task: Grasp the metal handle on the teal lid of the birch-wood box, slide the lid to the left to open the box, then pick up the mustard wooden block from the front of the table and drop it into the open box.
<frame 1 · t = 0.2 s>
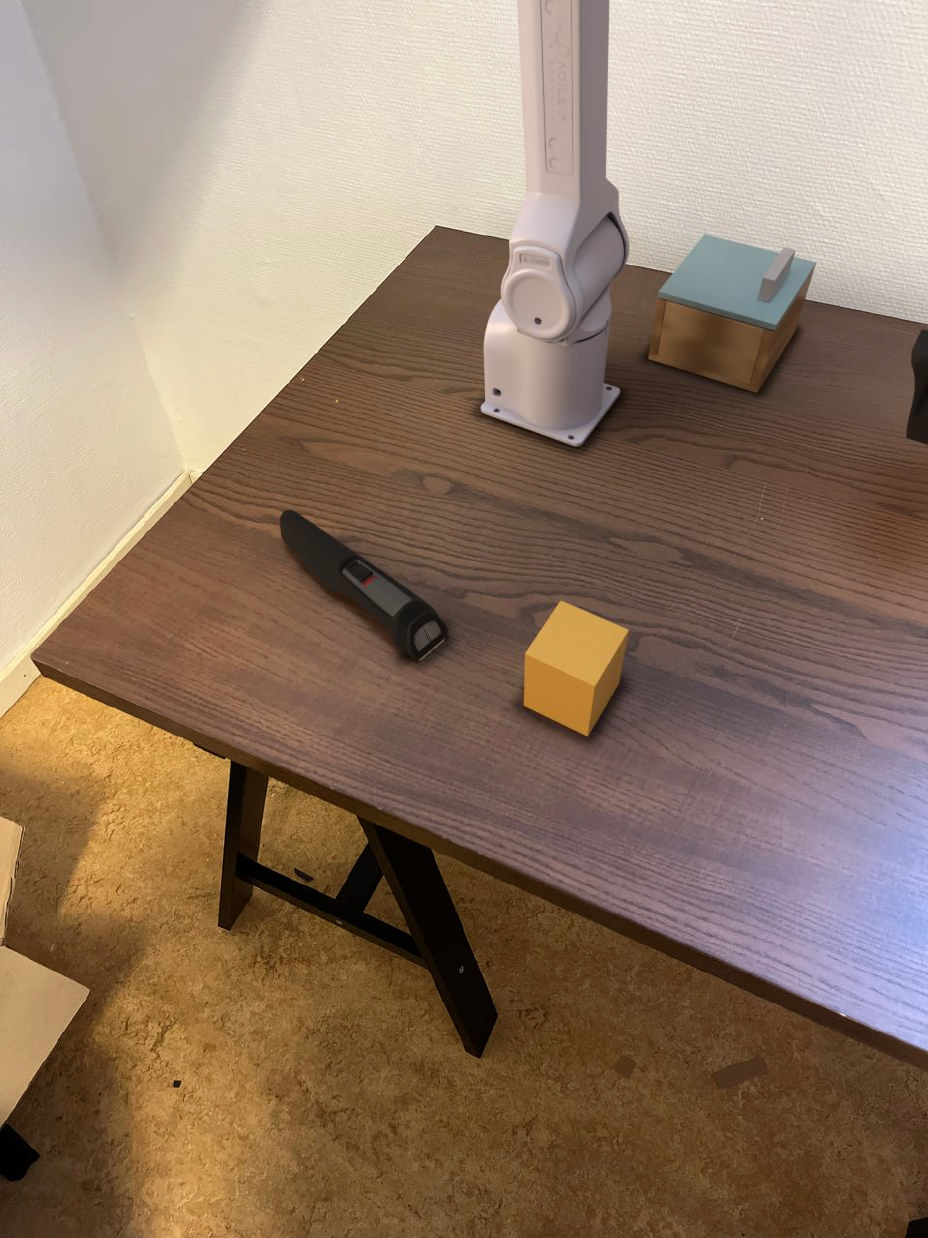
box: (722, 344, 77), on the table
electric trimmer: (360, 595, 62), on the table
block: (571, 694, 56), on the table
teal lid: (740, 268, 71), point 7 cm above the table, slide at 0.0 cm
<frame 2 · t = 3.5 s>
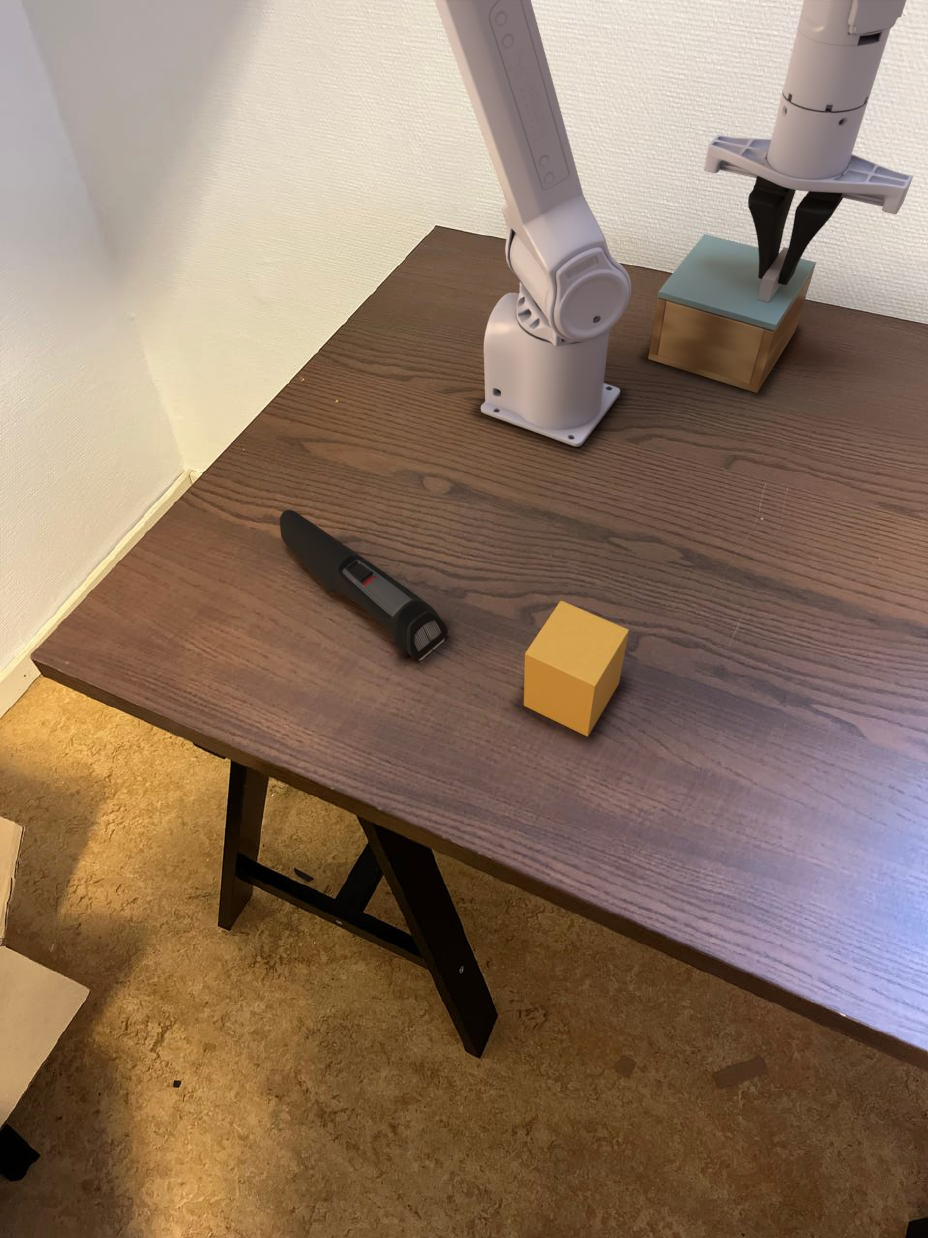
hand: (776, 275, 70), 8 cm above the table, tool pointing down, fingers closed, pressing on teal lid
teal lid: (740, 268, 71), point 7 cm above the table, slide at 0.0 cm, touching gripper
everything else where it was.
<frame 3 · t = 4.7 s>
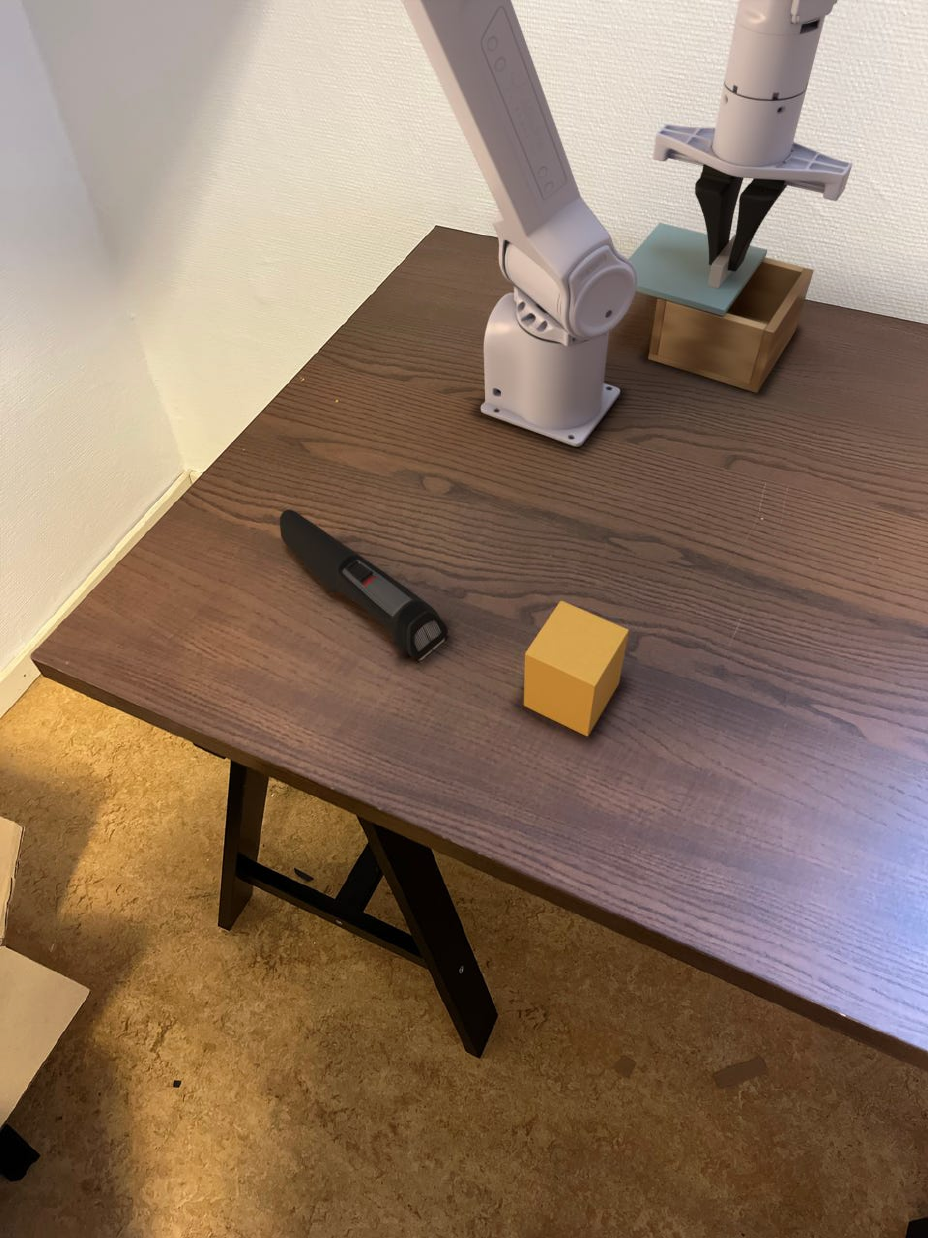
hand: (726, 262, 71), 8 cm above the table, tool pointing down, fingers closed, pressing on teal lid
teal lid: (691, 255, 73), point 7 cm above the table, slide at 4.2 cm, touching gripper
everything else where it was.
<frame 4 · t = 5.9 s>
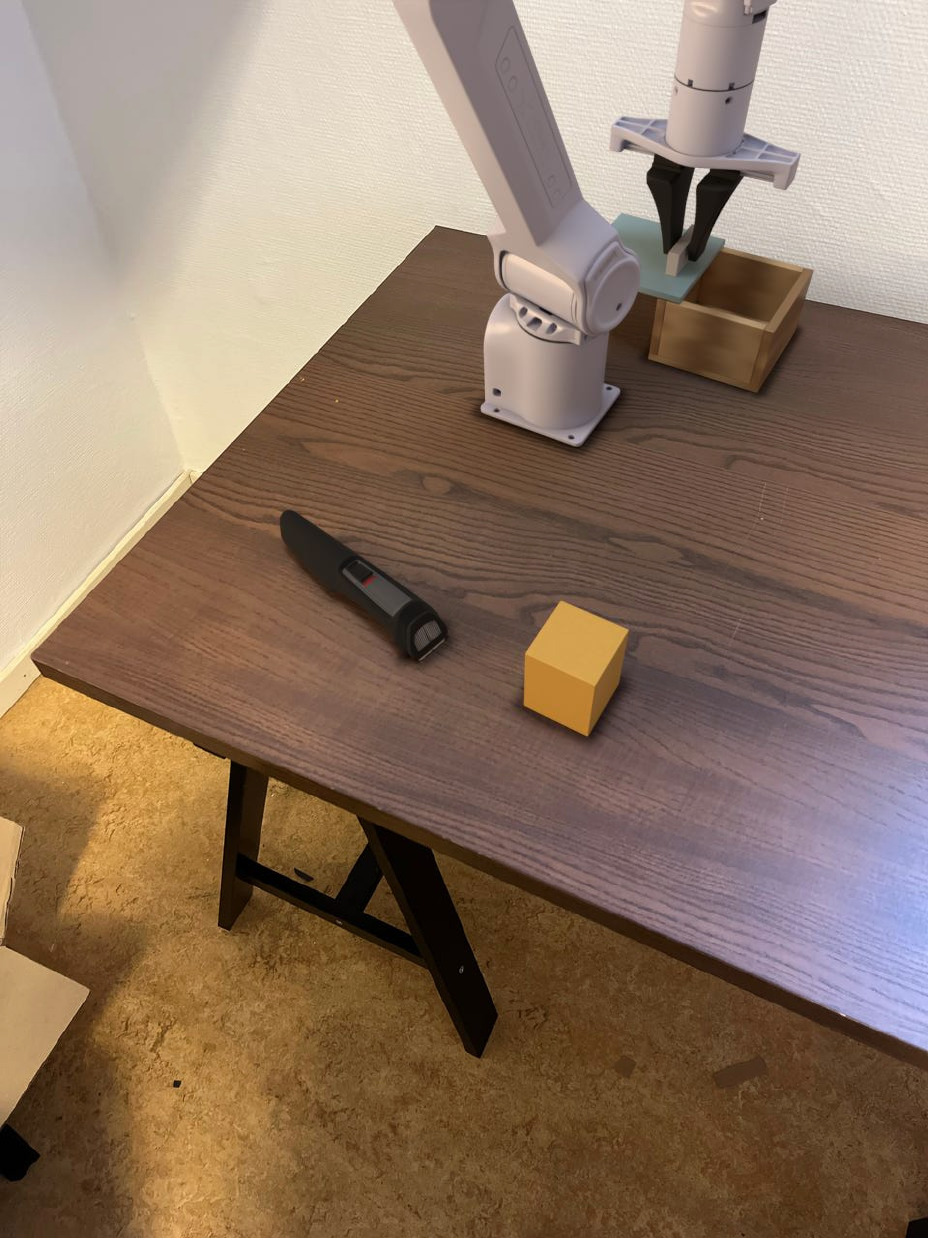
hand: (683, 251, 73), 8 cm above the table, tool pointing down, fingers closed
teal lid: (650, 244, 74), point 7 cm above the table, slide at 8.0 cm
everything else where it was.
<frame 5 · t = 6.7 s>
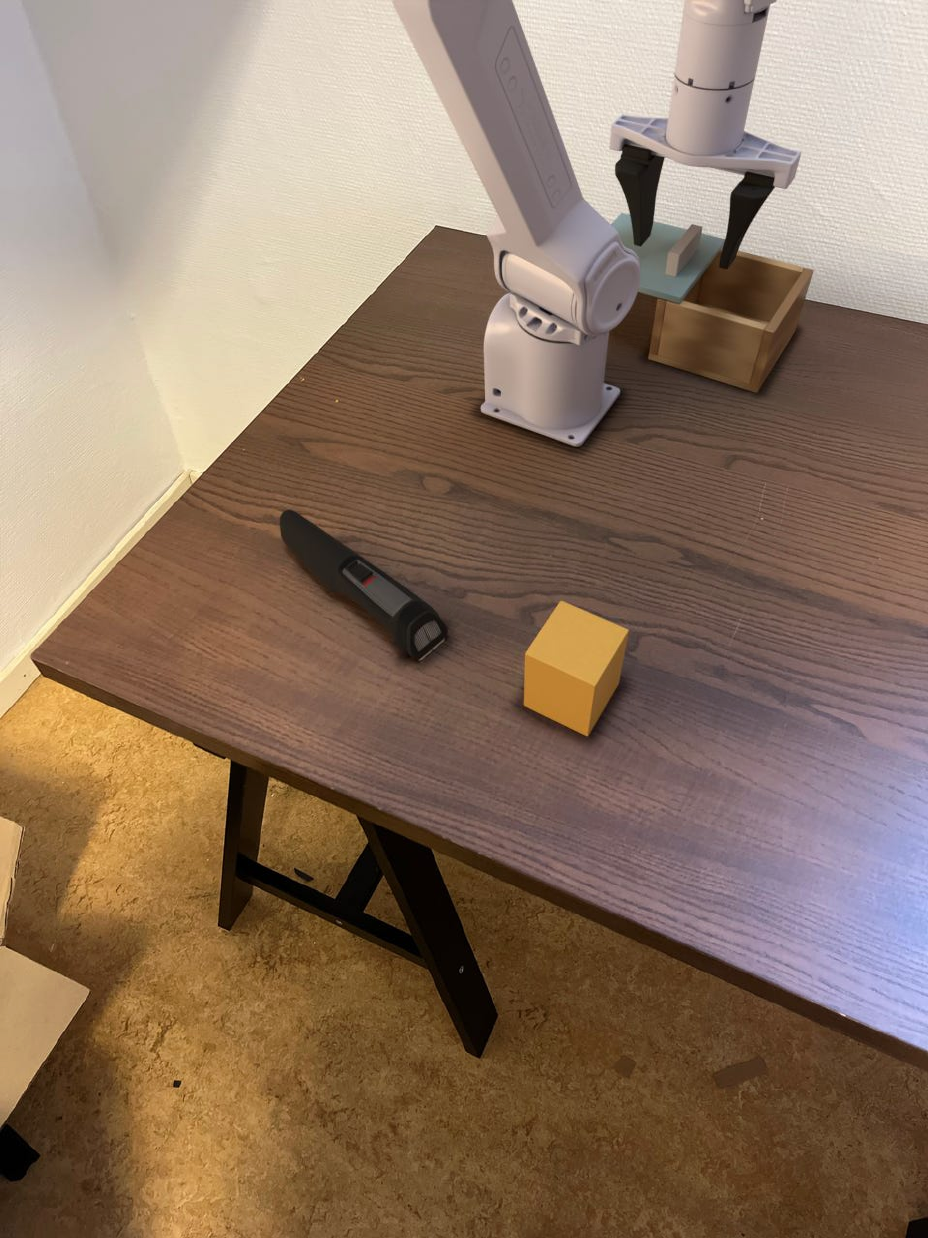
hand: (683, 251, 73), 8 cm above the table, tool pointing down, fingers open, 7 cm apart
nothing on the table moved.
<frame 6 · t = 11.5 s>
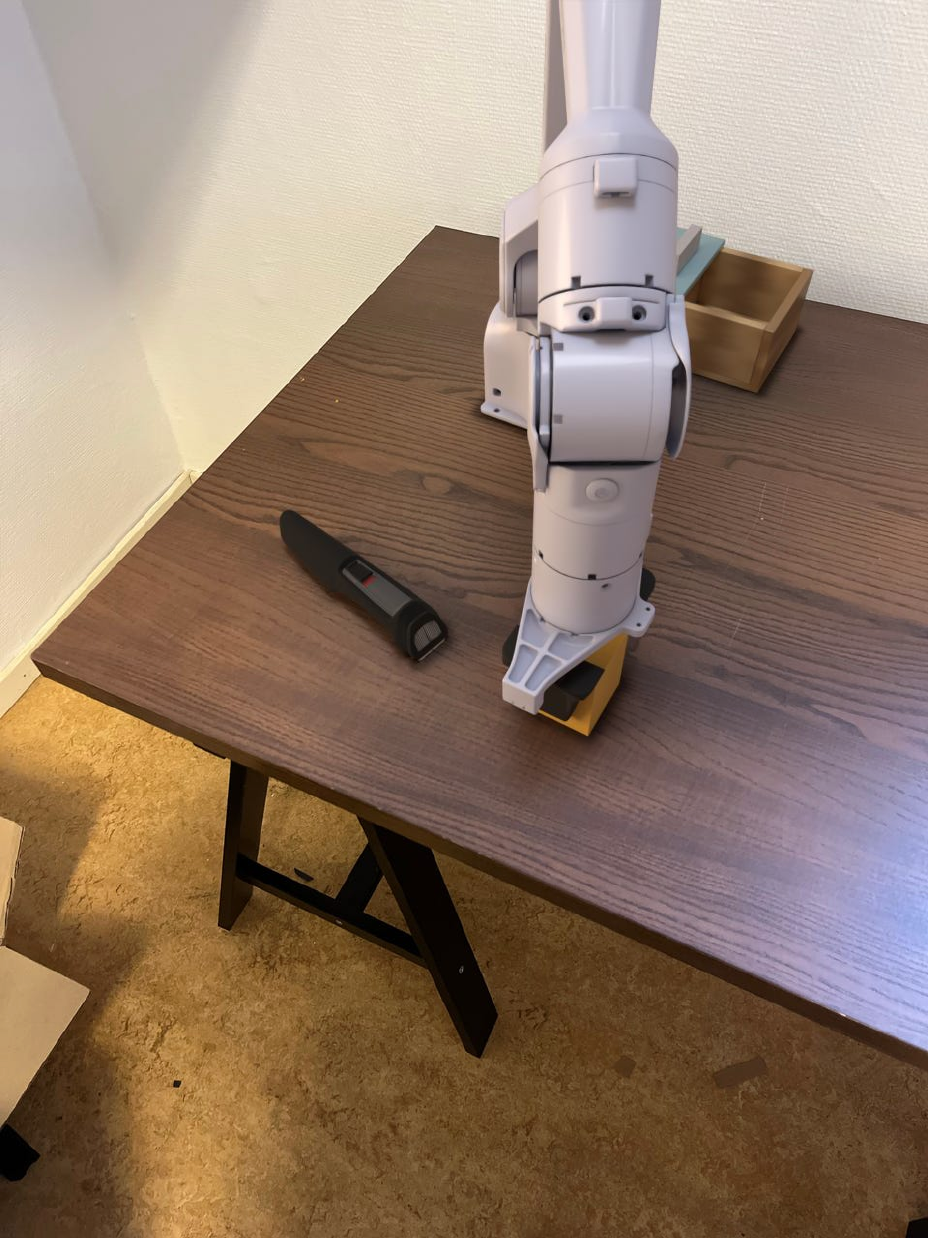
hand: (573, 681, 55), 2 cm above the table, tool pointing down, fingers closed on block, 4 cm apart
block: (571, 694, 56), on the table, touching gripper
everything else where it was.
when the fingers open (5 cm above the table, at t = 18.0 s): block drops 3 cm, resting on box.
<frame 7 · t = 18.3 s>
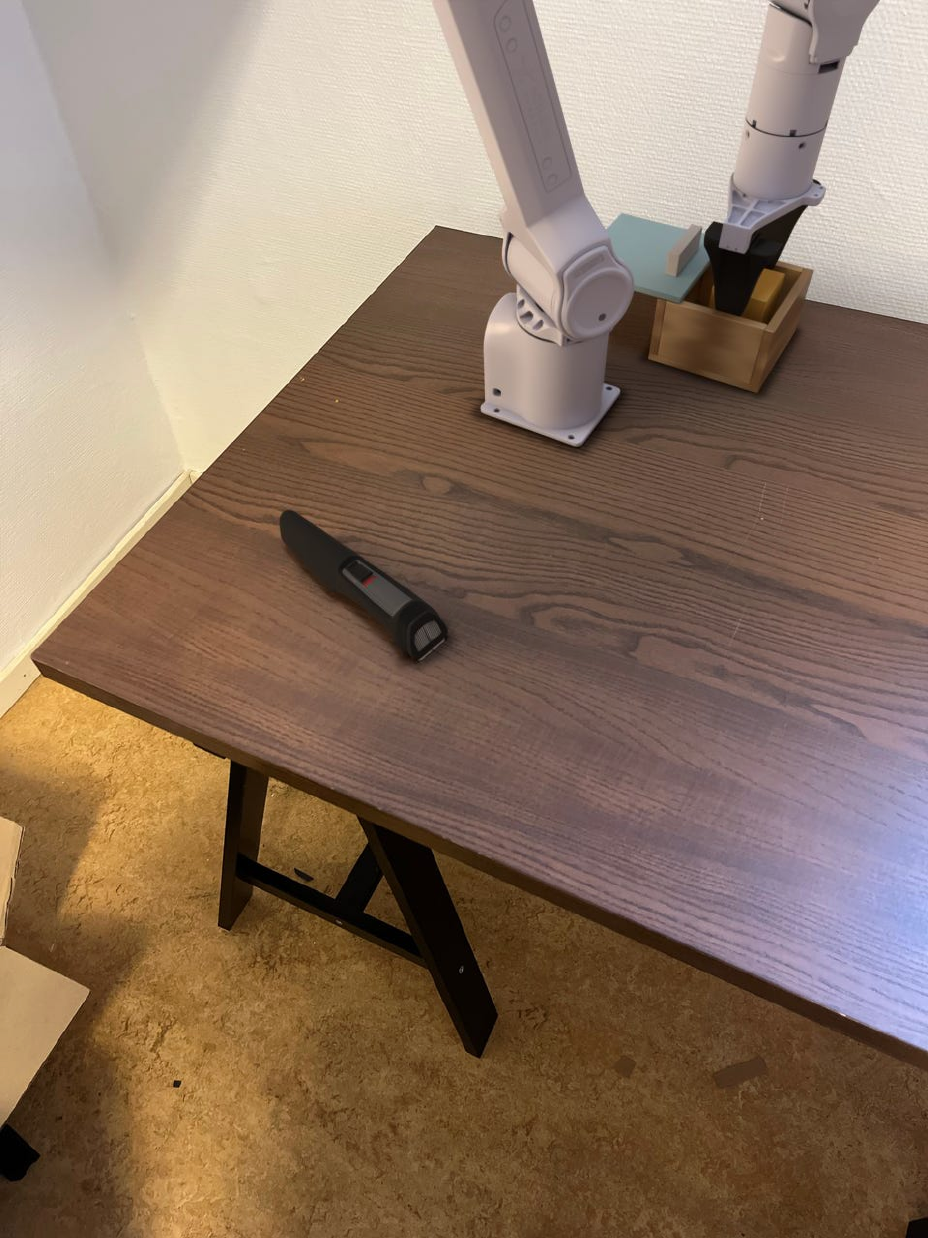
hand: (744, 290, 72), 6 cm above the table, tool pointing down, fingers open, 7 cm apart
block: (734, 341, 76), point 1 cm above the table, touching box
everything else where it was.
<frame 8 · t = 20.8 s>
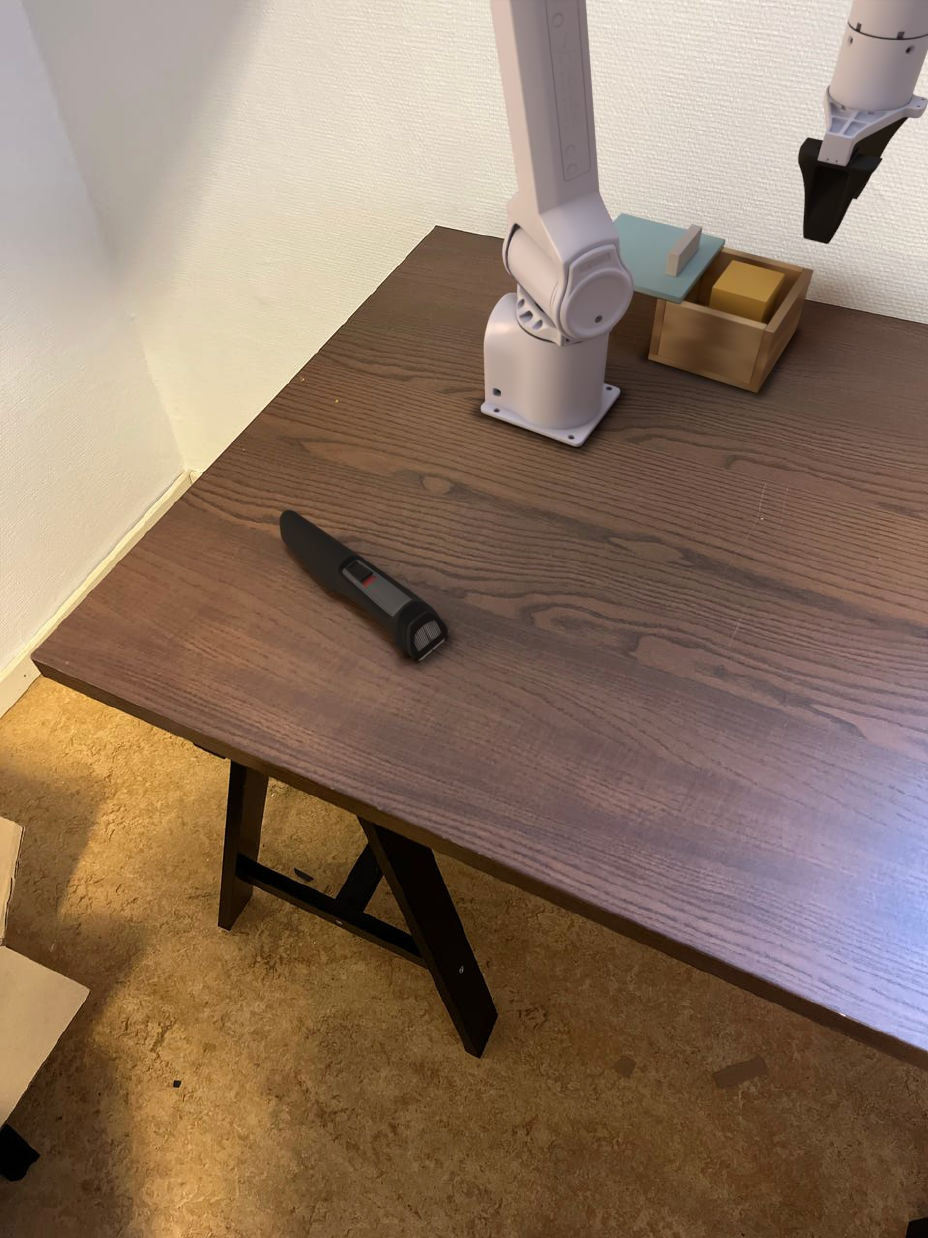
hand: (831, 216, 70), 10 cm above the table, tool pointing down, fingers open, 7 cm apart
nothing on the table moved.
at the end: teal lid slide at 8.0 cm; block inside the target area on the box (0.9 cm from its centre), point 0.6 cm above the box's base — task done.
